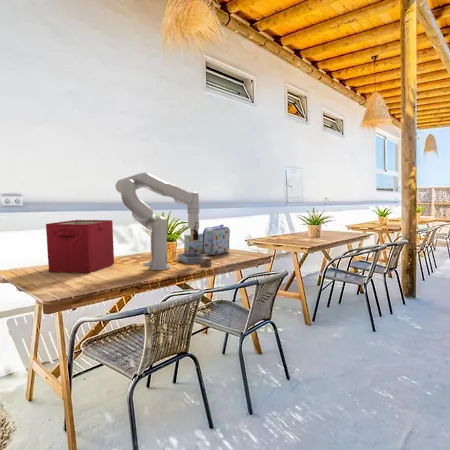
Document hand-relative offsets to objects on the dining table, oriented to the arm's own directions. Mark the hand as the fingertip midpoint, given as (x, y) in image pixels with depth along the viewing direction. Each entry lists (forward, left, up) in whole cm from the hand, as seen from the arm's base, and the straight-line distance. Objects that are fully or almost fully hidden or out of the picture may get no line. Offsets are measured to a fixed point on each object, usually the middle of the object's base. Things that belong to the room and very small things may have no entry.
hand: (194, 239), depth 215 cm
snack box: (+16, +38, -16) cm, 44 cm away
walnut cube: (+4, -10, -16) cm, 19 cm away
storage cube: (-66, +18, -16) cm, 70 cm away
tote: (+1, +8, -16) cm, 18 cm away
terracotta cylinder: (0, 0, -1) cm, 1 cm away
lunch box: (+29, +28, -16) cm, 43 cm away
